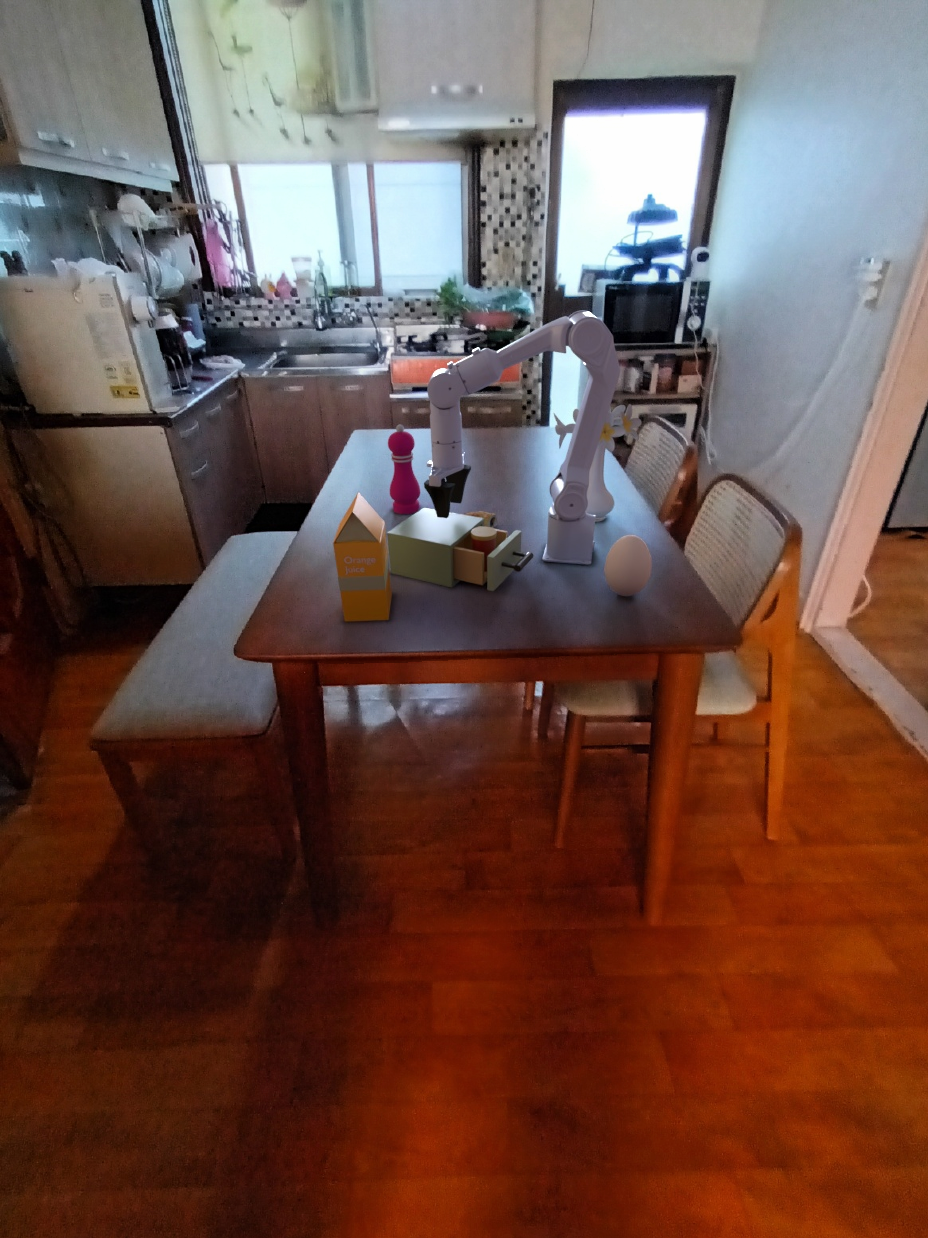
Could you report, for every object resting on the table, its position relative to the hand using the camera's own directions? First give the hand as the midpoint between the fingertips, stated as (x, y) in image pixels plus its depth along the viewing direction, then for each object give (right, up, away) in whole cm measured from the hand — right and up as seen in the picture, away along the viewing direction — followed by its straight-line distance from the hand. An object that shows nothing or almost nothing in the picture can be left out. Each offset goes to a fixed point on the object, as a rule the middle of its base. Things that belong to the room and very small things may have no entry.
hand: (449, 509), depth 121 cm
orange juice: (-14, -20, -11) cm, 27 cm away
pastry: (+6, -1, +17) cm, 18 cm away
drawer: (+7, -12, -3) cm, 15 cm away
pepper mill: (-11, +5, +27) cm, 30 cm away
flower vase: (+31, +2, +21) cm, 37 cm away
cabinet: (-2, -11, +2) cm, 11 cm away
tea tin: (+7, -11, -3) cm, 13 cm away
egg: (+32, -17, -9) cm, 37 cm away
